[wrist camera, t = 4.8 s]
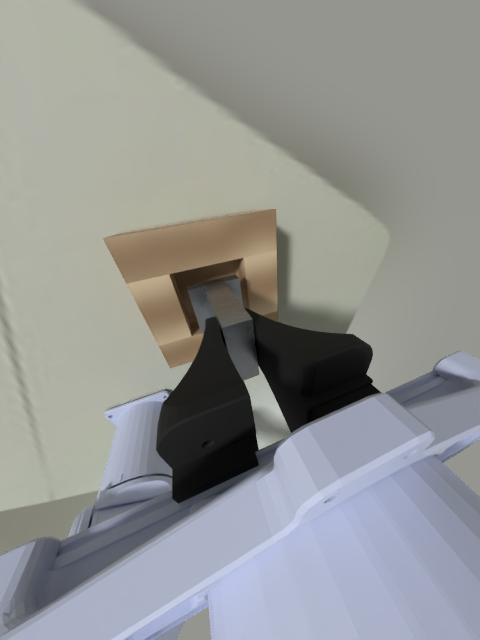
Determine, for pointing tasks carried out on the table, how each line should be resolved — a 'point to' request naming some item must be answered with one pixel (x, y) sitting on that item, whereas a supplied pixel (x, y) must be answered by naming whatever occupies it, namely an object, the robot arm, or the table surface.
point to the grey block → (228, 320)
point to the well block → (197, 272)
